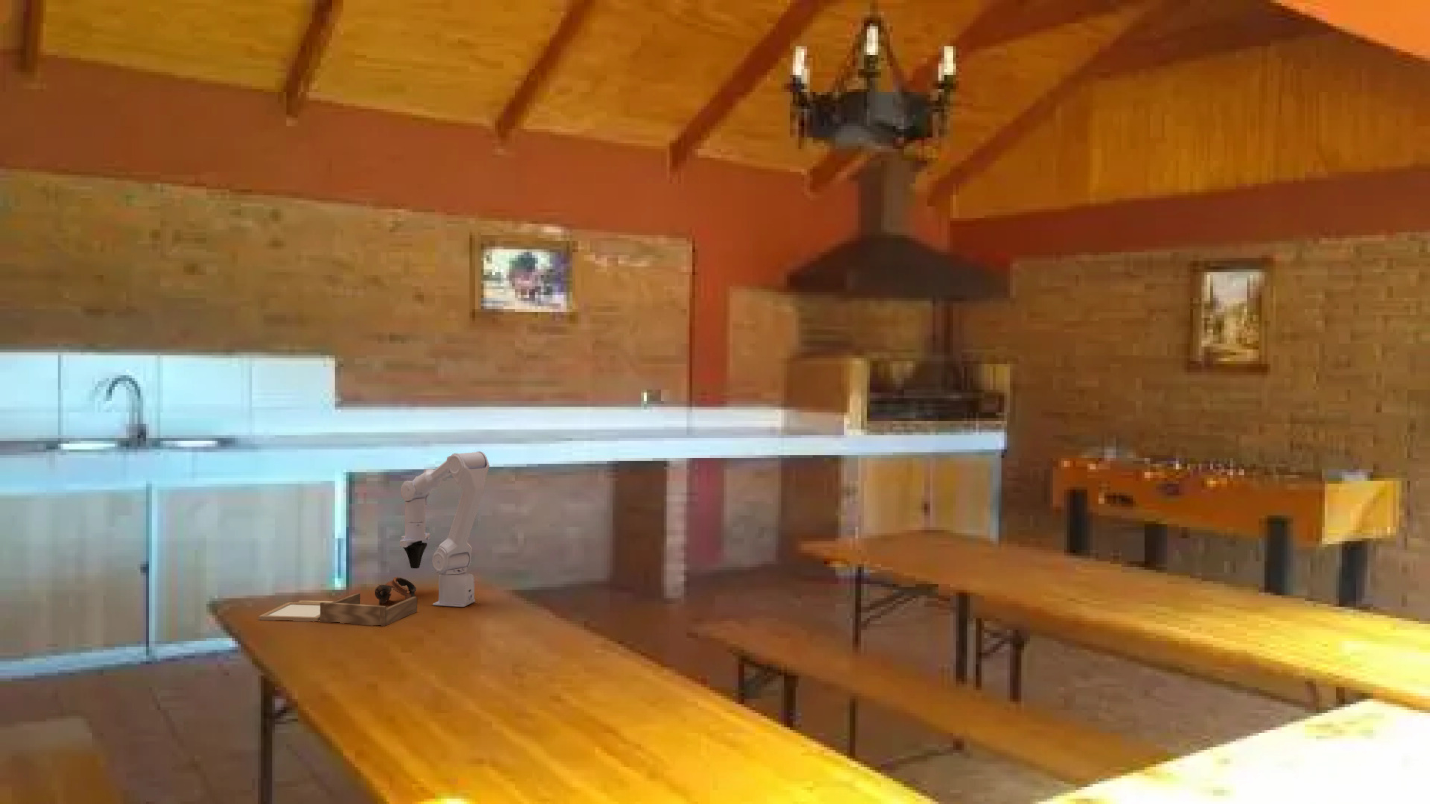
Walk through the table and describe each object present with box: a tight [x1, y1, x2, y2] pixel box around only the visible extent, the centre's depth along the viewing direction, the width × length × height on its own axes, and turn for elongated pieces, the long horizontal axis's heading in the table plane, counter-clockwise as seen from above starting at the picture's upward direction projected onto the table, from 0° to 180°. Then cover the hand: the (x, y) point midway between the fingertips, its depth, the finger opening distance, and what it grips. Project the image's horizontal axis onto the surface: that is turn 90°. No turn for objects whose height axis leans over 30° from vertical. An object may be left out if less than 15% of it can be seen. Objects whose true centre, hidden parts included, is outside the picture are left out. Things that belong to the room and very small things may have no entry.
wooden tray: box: [320, 592, 418, 627], centre depth 300 cm, size 18×18×5 cm
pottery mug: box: [374, 576, 417, 605], centre depth 316 cm, size 12×10×8 cm
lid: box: [258, 600, 335, 623], centre depth 304 cm, size 16×20×1 cm
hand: (415, 568), depth 327 cm, fingers closed
